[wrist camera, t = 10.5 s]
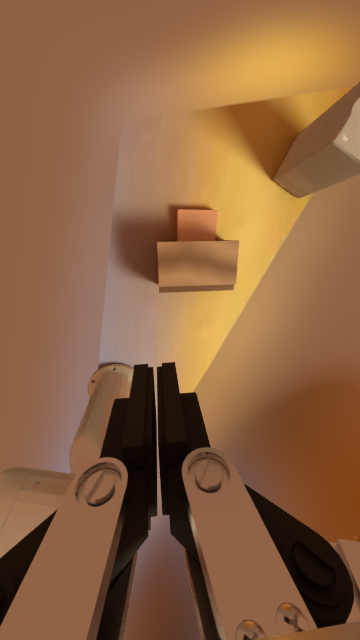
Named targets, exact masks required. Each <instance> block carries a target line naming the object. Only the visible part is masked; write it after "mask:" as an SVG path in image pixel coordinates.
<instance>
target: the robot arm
mask: <svg viewBox="0 0 360 640" xmlns="http://www.w3.org/2000/svg"><path fill="white" fill-rule="evenodd" d="M88 393H89V396H90V400H89V403H88V405H87V408H86V410H85V413H84V415H83V418H82V420H81V423H80V425H79V428H78V430H77V433H76V435H75V438H74V440H73V443H72V445H71V448H70V455H69V463H70V469H71V473H70V474H68V473H61V472H54V471H48V470H41V469H34V468H26V467H12V468H8V469H5V470H3V471H1V472H0V640H123V638H124V632H125V626H126V620H127V614H128V609H129V603H130V597H131V591H132V585H133V578H134V573H135V567H136V561H137V550H138V549H139V548H140V546H141V545H142V544H143V543H144V541H145V540H146V539H147V537H148V530H150V526H151V525H150V524H151V517H154V516H157V424H156V406H155V390H154V374H153V367H148V364H140V365H134V368H132V367H130V366H127V365H123V364H110V365H106V366H104V367H101V368H100V369H98V370H97V371H96V372H95V373H94V374H93V375H92V377H91V379H90V381H89V384H88ZM157 396H158V448H159V465H160V481H161V497H162V513H163V515H169V514H170V530H171V534H172V535H173V536H174V537H175V538H176V539H177V540H178V541H179V542H180V543H181V544H182V545H183V549H184V556H185V561H186V566H187V571H188V575H189V580H190V585H191V590H192V594H193V599H194V604H195V609H196V613H197V618H198V623H199V628H200V632H201V637H202V640H360V542H356V541H350V540H343V539H338V541H337V543H333V542H327V541H326V540H325V539H324V538H323V537H321V536H320V535H319V534H318V533H316V532H315V531H313V530H312V529H310V528H309V527H307V526H306V525H304V524H303V523H301V522H300V521H298V520H297V519H295V518H294V517H292V516H291V515H290V514H288V513H287V512H285V511H283V510H282V509H281V508H279V507H278V506H276V505H275V504H273V503H272V502H270V501H269V500H267V499H266V498H264V497H263V496H261V495H260V494H258V493H257V492H255V491H254V490H253V489H251V488H250V487H248V486H247V485H245V484H243V482H242V480H241V478H240V476H239V474H238V472H237V470H236V468H235V466H234V464H233V463H232V461H231V460H230V458H229V457H228V456H227V455H225V454H224V453H223V452H221V451H219V450H217V449H214V448H211V447H210V444H209V440H208V436H207V432H206V428H205V425H204V421H203V417H202V413H201V410H200V406H199V402H198V398H197V395H196V393H195V392H194V393H181V394H180V392H179V386H178V380H177V373H176V367H175V362H171V363H162V367H157Z"/></svg>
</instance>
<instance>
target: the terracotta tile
mask: <svg viewBox="0 0 360 640" xmlns="http://www.w3.org/2000/svg"><path fill="white" fill-rule="evenodd" d="M216 224H217V210H182V209H178V210H177V242H183V241H216Z"/></svg>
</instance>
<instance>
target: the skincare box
mask: <svg viewBox="0 0 360 640" xmlns="http://www.w3.org/2000/svg"><path fill="white" fill-rule="evenodd" d="M359 174H360V82H359V83H358V84H357V85H356V86H355V87H354V88H352V89H351V90H350V91H349V92H348V93H347V94H345V95H344V96H343V97H342V98H341V99H340V100H339V101H337V102H336V103H335V104H334V105H333V106H331V107H330V108H329V109H328V110H327V111H325V112H324V113H323V114H322V115H321V116H320V117H318V118H317V119H316V120H315V121H314V122H312V123H311V124H310V125H309V126H308V127H307V128H305V129H304V130H303V131H302V132H301V133H299V134H298V135H297V137H296V139H295V140H294V142H293V144H292V146H291V147H290V149H289V151H288V153H287V155H286V156H285V158H284V160H283V162H282V163H281V165H280V167H279V169H278V171H277V173H276V174H275V176H274V178H273V181H274V182H276V183H277V184H279V185H280V186H282V187H283V188H284V189H286V190H287V191H289V192H290V193H291V194H293V195H294V196H296V197H297V198H301V197H304V196H306V195H309V194H311V193H314V192H316V191H319V190H321V189H324V188H327V187H329V186H332V185H334V184H337V183H339V182H342V181H344V180H347V179H349V178H352V177H354V176H357V175H359Z"/></svg>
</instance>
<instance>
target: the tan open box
mask: <svg viewBox="0 0 360 640" xmlns="http://www.w3.org/2000/svg"><path fill="white" fill-rule="evenodd" d="M238 246H239V241H233V240H218V241H183V242H164V241H157V258H158V280H159V293H165V292H193V291H220V290H233V289H234V284H236V275H237V260H238Z"/></svg>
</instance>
